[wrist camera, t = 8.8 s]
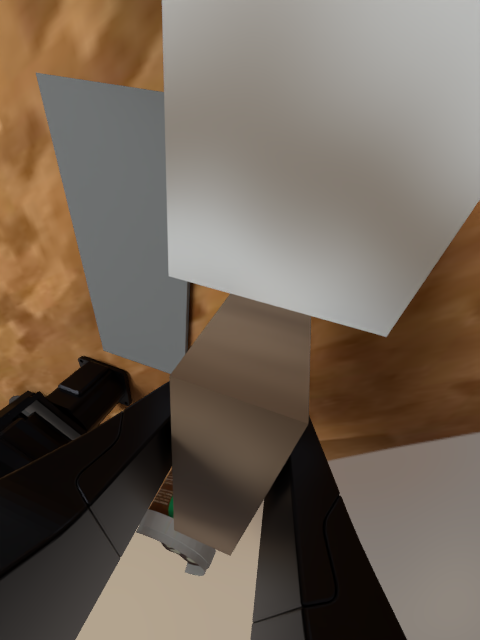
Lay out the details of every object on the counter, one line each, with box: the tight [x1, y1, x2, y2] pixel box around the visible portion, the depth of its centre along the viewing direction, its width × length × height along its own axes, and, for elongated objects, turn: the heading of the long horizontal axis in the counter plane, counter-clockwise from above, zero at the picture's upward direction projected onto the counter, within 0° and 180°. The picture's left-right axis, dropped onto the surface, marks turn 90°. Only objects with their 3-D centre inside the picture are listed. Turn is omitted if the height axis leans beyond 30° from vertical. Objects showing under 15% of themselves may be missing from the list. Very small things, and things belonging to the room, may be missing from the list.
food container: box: [136, 470, 216, 576], centre depth 30 cm, size 12×6×10 cm, turn 24°
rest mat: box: [36, 73, 190, 374], centre depth 19 cm, size 22×10×1 cm, turn 170°
